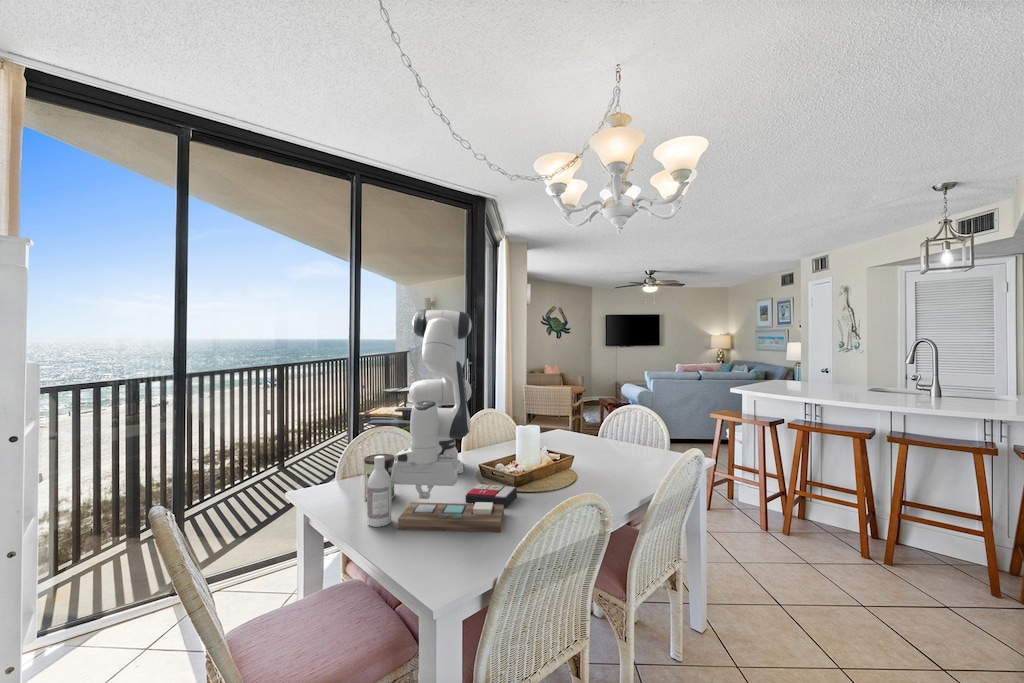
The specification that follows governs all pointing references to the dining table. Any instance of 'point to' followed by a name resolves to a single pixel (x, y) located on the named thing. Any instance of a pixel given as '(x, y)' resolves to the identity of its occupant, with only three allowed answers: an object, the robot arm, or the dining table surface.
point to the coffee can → (370, 468)
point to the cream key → (483, 508)
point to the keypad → (451, 518)
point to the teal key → (454, 509)
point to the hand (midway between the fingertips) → (424, 498)
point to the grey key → (425, 509)
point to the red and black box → (492, 494)
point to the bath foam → (379, 495)
